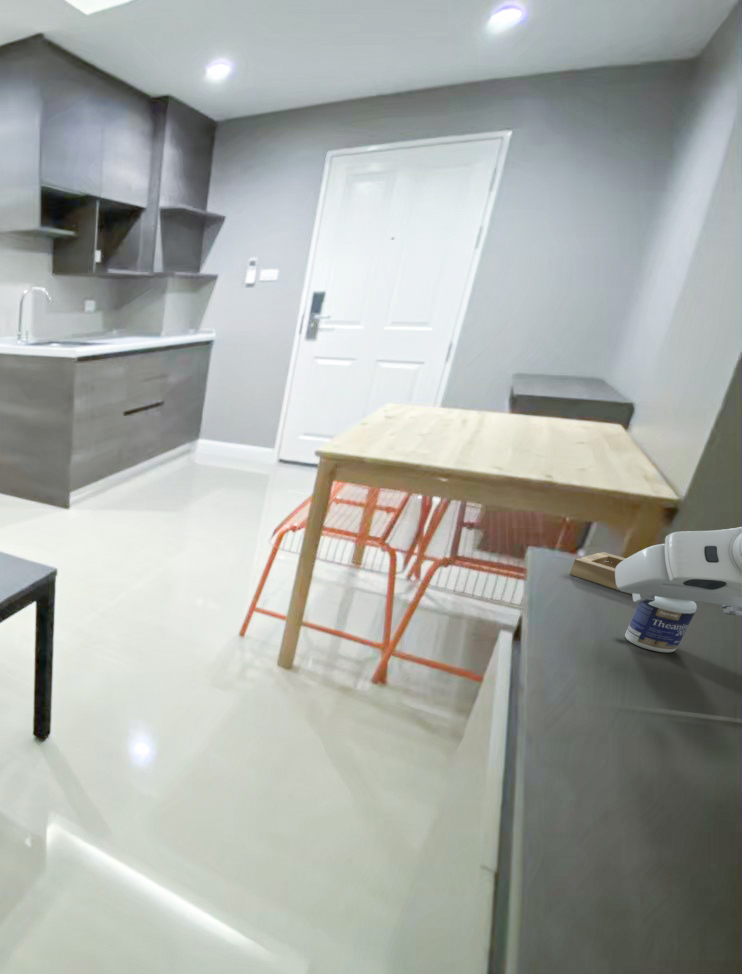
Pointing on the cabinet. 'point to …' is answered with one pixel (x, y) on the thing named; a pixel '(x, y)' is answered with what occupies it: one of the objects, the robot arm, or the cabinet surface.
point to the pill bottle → (660, 623)
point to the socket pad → (597, 568)
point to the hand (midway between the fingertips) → (683, 603)
